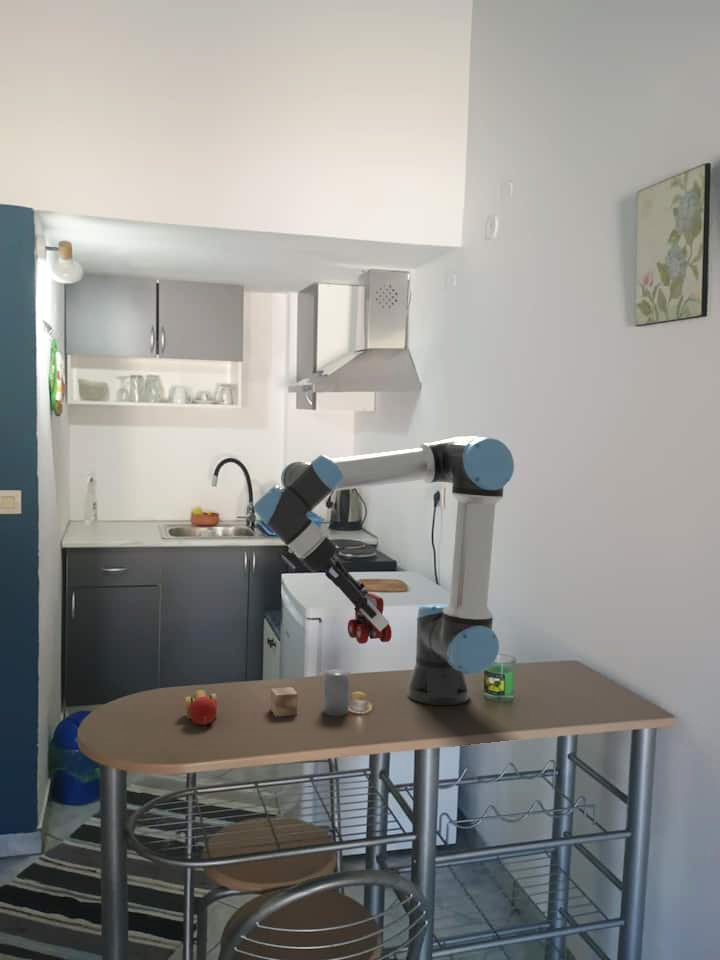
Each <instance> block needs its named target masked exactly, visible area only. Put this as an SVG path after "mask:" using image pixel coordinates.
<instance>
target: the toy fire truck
mask: <svg viewBox="0 0 720 960" xmlns="http://www.w3.org/2000/svg"><path fill="white" fill-rule="evenodd" d="M361 594H362V595H363V596H364V597H365V598H366V599H367V600H369V601H370V602H371V603H372V604H373V605H374V606H375V607H376V609H377V610H378V611H379V612H380V613H381V614H382V615H383V613H384V612H383V611H384V607H385V606H384V599H383V597H380V596H378V595H376V594H374V593H370V592H369V591H368V590H366V589H364V590H363V589H362V591H361ZM360 599H361V598H360ZM347 633H348V636H349V637H350V638H352V639H356V642H357V643H358V644H361V645H363V644H367V642H368V640H369V639H371V640H373V639H376V640H377V639H379V640H380V642H382V643H387V642H390V641H391V638H392V628H391V625H390V623H389V624H388V625H387V626H386V627H385V628H383V629H382V630H381V631H379V630H378V629H377V628H376V627H375V626H374V625H373V624H372V622H371V621H370V620H369V619H368V618H367V617H366V616H365V615H364V614H363V613H362V612H361V611H360V610H358V611H357V612H356V611H355V610H354V618H352V619H349V621H348V623H347Z"/></svg>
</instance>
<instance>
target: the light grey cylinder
mask: <svg viewBox="0 0 720 960" xmlns="http://www.w3.org/2000/svg"><path fill="white" fill-rule="evenodd" d="M350 674H351V673H350V672H349V671H348V670H343V669H336V668H335V669H328V670H325V671H324V672H323V688H322V689H323V690H322V691H323V692H322V713H323V714H325V715H328V716H334V717H337V716H338V717H339V716H346V715H347V714H349V707H350V706H349V705H350V703H349V702H350V681H351V680H350V678H351V677H350V676H351V675H350Z"/></svg>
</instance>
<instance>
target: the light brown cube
mask: <svg viewBox="0 0 720 960" xmlns="http://www.w3.org/2000/svg"><path fill="white" fill-rule="evenodd" d="M269 705H270V709H269V710H270V712H273V713H272V714H273V715H274V717H275V718H277V716H278V717H289V716H297V715H298V692H297V691H296V690H295V689H294V688H293V687H289V686H288V687H274V688H270V704H269Z"/></svg>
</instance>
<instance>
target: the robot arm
mask: <svg viewBox="0 0 720 960" xmlns="http://www.w3.org/2000/svg"><path fill="white" fill-rule="evenodd" d="M514 469H515V462H514V457H513V454H512V452H511V450H510V449H509V448H508V446H507V445H506V444H505V443H503V442H502V441H501V440H499V439H497V438H493V437H490V436H467V435H463V436H462V435H460V436H455V437H450V438H447V439H442V440H439V441H434V442H433V441H432V442H425V443H422V444H421V445H419V447H418V448H413V449H412V448H411V449H404V450H403V449H402V450H394V451H389V452H380V453H379V452H378V453H371V454H362V455H361V454H360V455H354V456H352V455H351V456H345V457H338V458H337V457H336V458H330V457H328V456H326V455H325V454H320V455H319V456H317V457H316V458H315V459H314V460H312V461H311V460H310V461H306V462H303V461H296V462H295V461H294V462H290V463H289V464H287V465H285V467H284V468H283V469H282V472H281V474H280V475H281V476H280V482H281V485H282V487H280V486H279V485H278V484H276V485H273V486H272V487H271V488H269V490H268V491H267V492H266V493H264V495H262V496H261V497H260V498H259V499H258V500H257V501H256V502H255V503H254V505H253V509H254V512H255V513H256V514H257V516H258V517H259V518H260V519H261V520H262V521H263V522H264V524H265V525H266V526H267V527H268V528H270V530H271V531H272V532H273V533H274V535H276V536H277V537H278V538H279V539H280V540H281V541H282V542H283V543H284V544H285V545H286V546H287V548H288V553H290V554H291V553H293V554H295V555H296V557H297V558H300V559H301V558H302V559H301V562H302V564H304V566H305V567H306V568H307V569H308V570H309V571H310V572H312V573H314V572H317V571H318V570H320V569H321V568H322V569H324V570H325V572H324V573H325V575H324V576H326V578H328V580H330V581H331V582H332V583H333V584H334V585H335V586H336V587H337V588H339V590H340V591H341V592H342V593H343V594H344V595H345V597H346V598H347V599H348V600H349V601H350V602H351V603H352V604H353V605H354V608H353V609H354V612H355V611H356V612H357V611H358V610H360V611H361V612H362V613H363V614H364V615H365V616H366V617H367V618H368V619H369V620H370V621H371V622H372V624H373V625H374V626H375V627H376V628H377V629H378V630H379V631H381V630H382V629H383V628H385V627H386V626H387V625H388V624H389V625H390V621H389V620H388V619H387V618H386V617H385V616H384V615H383V613H382V614H381V613H380V612H379V611H378V610H377V609H376V607H375V606H374V605H373V604H372V603H371V602H370V601H369V600H367V599H366V598H365V597H364V596H363V595H362V594H361V591H362V590H365V589H364V588H365V587H366V585H365V584H364V583H363V582H361V583H360V582H359V581H357V580H356V579H355V578H354V577H353V576H352V575H351V574H350V573H349V571H348V570H347V569H346V568H345V567H344V565H343V563H342V562H341V561H340V560H337V559H336V557H334V555H335V554H336V553H337V552H338V547H337V546H336V544H334V542H333V541H332V540H331V539H329V537H327V536H326V537H325V532H323V531H322V530H321V529H320V528H319V527H318V525H317V524H316V523H315V522H314V521H312V519H311V518H310V517H309V516H308V515H309V514H310V513H311V512H312V511H313V510H314V509H315V508H316V507H317V506H318V505H320V503H322V501H323V500H325V499H326V498H327V497H328V496H329V495H330V494H331V493H332V492H335V491H337V492H338V491H345V490H352V489H360V488H367V487H376V486H382V485H391V484H398V483H405V482H406V483H407V482H414V481H415V482H416V481H422V480H423V482H425V483H427V484H431V483H449V484H452V489H451V490H452V491H451V494H452V496H453V497H454V498H455V499H456V501H457V508H456V521H455V522H456V523H455V535H454V547H453V548H454V549H453V559H452V562H453V563H452V573H451V584H450V585H451V586H450V598H449V599H450V600H449V603H427V604H422V605H421V606H419V608H418V610H417V617H416V621H417V623H416V645H415V646H416V647H415V648H416V650H415V651H416V653H415V665H414V667H413V671H412V672H411V676H410V679H409V681H408V684H407V697H409V699H411V700H413V701H416V702H418V703H422V704H426V705H432V706H454V705H455V706H456V705H460V704H464V703H466V702H467V701H468V700H469V699H470V698H469V695H470V692H469V691H470V689H469V685H468V682H467V677H466V675H470V676H471V675H478V674H481V673H484V672H485V671H487V670H488V669H489V668H490V667H491V666H492V665H493V664H494V663H495V662H496V659H497V658H498V656H499V651H500V642H499V639H498V636H497V635H496V633H495V632H494V630H493V621H494V615H493V612H491V610H490V609H489V607H488V598H489V585H490V575H491V574H490V573H491V562H492V560H491V559H492V548H493V537H494V525H495V514H496V505H497V503H498V502H499V501H500V500H502V499H503V498H504V487H505V486H506V485H507V484H508V482H510V481H511V479H512V477H513V475H514ZM360 598H361V599H360Z"/></svg>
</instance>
